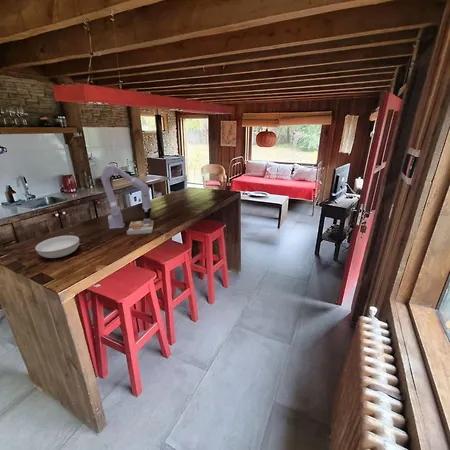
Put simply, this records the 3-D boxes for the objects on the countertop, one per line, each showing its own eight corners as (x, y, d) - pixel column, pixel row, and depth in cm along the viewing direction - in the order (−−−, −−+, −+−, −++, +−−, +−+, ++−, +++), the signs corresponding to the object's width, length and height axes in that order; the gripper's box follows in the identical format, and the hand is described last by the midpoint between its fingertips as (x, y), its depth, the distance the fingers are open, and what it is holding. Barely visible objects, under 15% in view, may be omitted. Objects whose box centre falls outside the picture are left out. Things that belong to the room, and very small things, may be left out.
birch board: (129, 229, 177) (129, 226, 177) (131, 224, 187) (131, 221, 186) (153, 228, 180) (152, 224, 179) (153, 223, 190) (153, 220, 189)
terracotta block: (133, 229, 176) (132, 231, 174) (132, 223, 175) (131, 224, 172) (140, 229, 177) (139, 230, 175) (139, 223, 176) (138, 224, 173)
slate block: (143, 224, 181) (143, 220, 180) (144, 222, 185) (144, 218, 184) (150, 223, 182) (149, 220, 181) (150, 221, 186) (150, 218, 185)
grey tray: (127, 234, 169) (126, 230, 168) (129, 230, 177) (128, 226, 176) (152, 233, 172) (151, 228, 171) (152, 228, 180) (152, 224, 179)
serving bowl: (35, 253, 144) (31, 242, 142) (75, 242, 158) (73, 232, 155) (43, 266, 130) (39, 254, 128) (86, 253, 144) (84, 242, 141)
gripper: (150, 203, 179) (152, 221, 184) (152, 198, 193) (154, 214, 197) (140, 203, 178) (142, 221, 183) (142, 198, 191) (144, 215, 196)
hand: (148, 218), depth 190 cm, fingers closed
